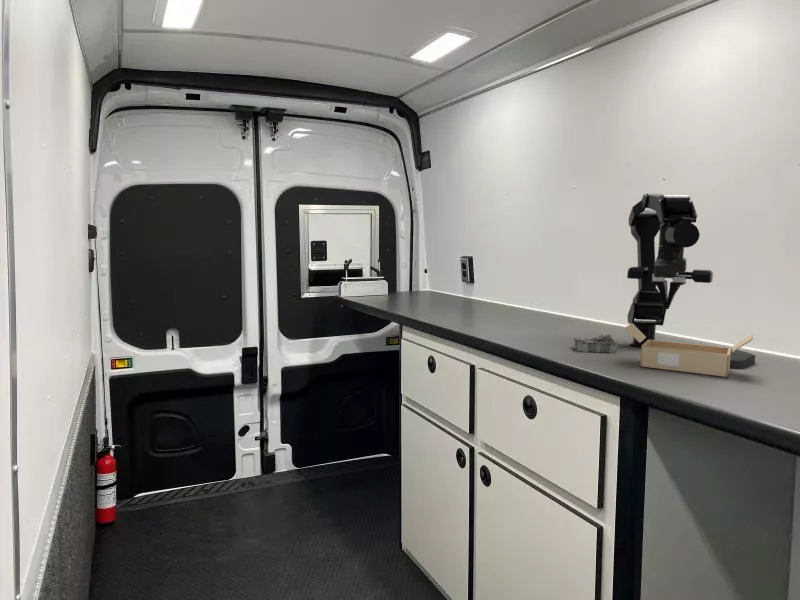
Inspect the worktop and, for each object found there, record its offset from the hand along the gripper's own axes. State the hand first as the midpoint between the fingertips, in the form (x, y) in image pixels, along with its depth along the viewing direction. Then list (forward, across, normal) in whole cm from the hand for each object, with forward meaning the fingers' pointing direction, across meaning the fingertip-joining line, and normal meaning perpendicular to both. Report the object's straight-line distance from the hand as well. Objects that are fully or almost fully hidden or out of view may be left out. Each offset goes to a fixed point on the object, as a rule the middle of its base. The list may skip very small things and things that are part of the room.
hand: (666, 308), depth 143 cm
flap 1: (+7, -3, -8) cm, 12 cm away
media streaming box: (+13, +12, +6) cm, 19 cm away
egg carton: (+13, -17, +1) cm, 22 cm away
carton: (+12, +6, -8) cm, 16 cm away
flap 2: (+7, +15, -8) cm, 19 cm away
